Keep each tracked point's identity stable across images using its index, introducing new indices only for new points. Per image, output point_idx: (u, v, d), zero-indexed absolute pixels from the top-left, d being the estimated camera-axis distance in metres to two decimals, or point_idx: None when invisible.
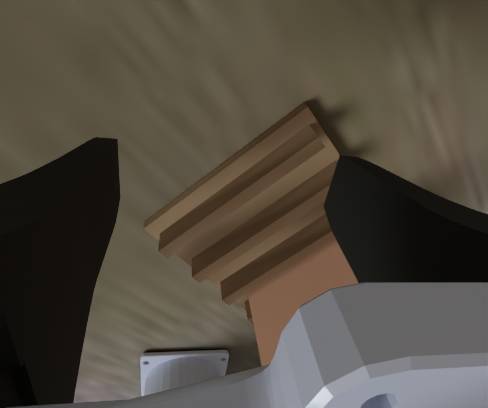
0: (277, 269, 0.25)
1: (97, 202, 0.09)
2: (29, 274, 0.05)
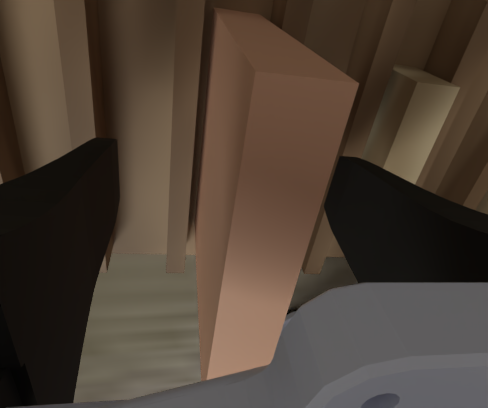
0: (178, 182, 0.14)
1: (97, 202, 0.09)
2: (29, 274, 0.05)
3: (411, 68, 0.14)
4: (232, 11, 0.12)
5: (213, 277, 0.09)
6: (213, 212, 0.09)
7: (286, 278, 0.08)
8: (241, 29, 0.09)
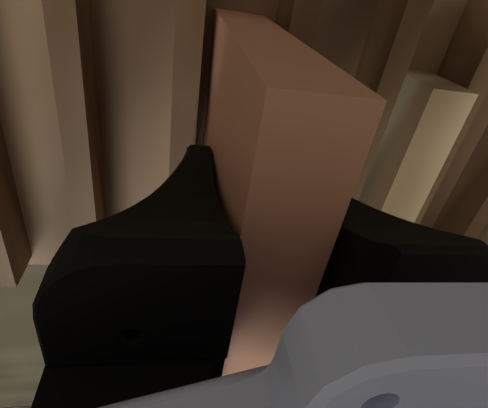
0: None
1: None
2: None
3: (424, 72, 0.13)
4: (235, 12, 0.11)
5: None
6: None
7: None
8: (246, 33, 0.08)
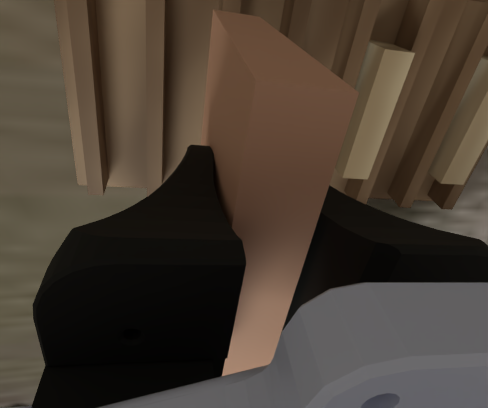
0: None
1: None
2: None
3: (384, 42, 0.19)
4: (232, 13, 0.12)
5: None
6: None
7: (285, 283, 0.08)
8: (241, 34, 0.08)
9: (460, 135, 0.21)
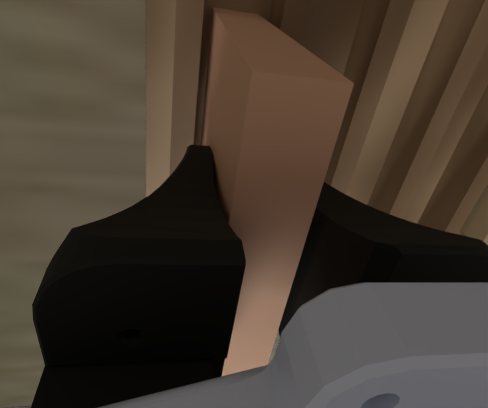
0: (337, 188, 0.15)
1: None
2: None
3: None
4: (231, 11, 0.12)
5: None
6: None
7: (283, 275, 0.08)
8: (239, 29, 0.09)
9: None
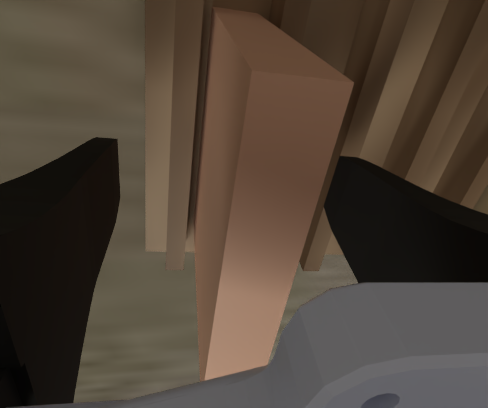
0: None
1: (97, 202, 0.09)
2: (29, 274, 0.05)
3: None
4: (231, 10, 0.12)
5: (211, 274, 0.09)
6: (211, 210, 0.09)
7: (283, 275, 0.08)
8: (239, 28, 0.09)
9: None
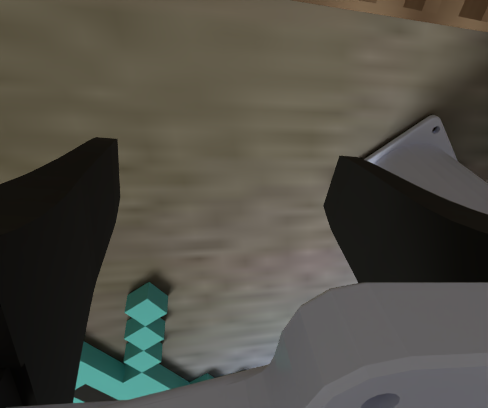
0: None
1: (97, 202, 0.09)
2: (29, 274, 0.05)
3: None
4: None
5: None
6: None
7: None
8: None
9: None
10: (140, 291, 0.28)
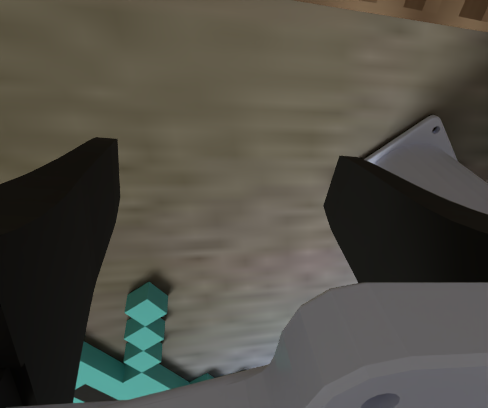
0: None
1: (97, 202, 0.09)
2: (29, 274, 0.05)
3: None
4: None
5: None
6: None
7: None
8: None
9: None
10: (140, 291, 0.28)
